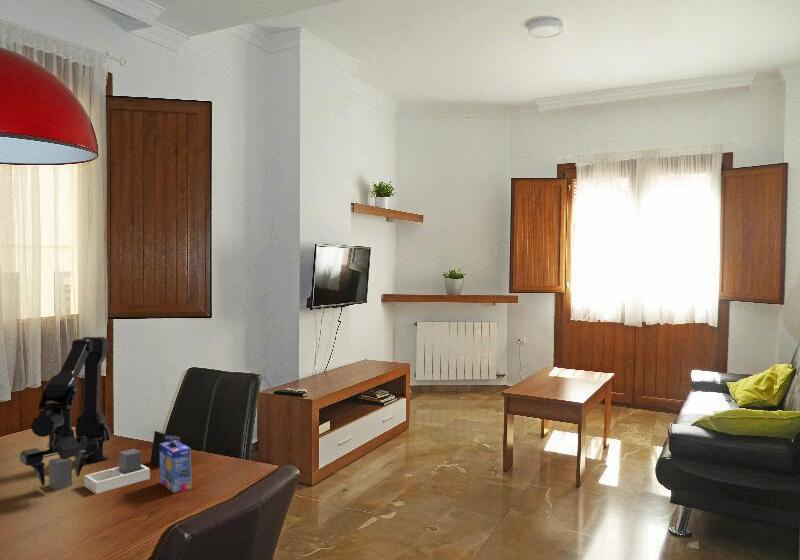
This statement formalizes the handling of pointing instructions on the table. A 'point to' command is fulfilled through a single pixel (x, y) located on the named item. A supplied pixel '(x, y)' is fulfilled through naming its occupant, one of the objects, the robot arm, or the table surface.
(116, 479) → the dock
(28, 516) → the table surface
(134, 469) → the twin plug
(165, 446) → the ink cartridge box
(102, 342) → the robot arm
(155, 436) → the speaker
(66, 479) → the grey rectangular block
